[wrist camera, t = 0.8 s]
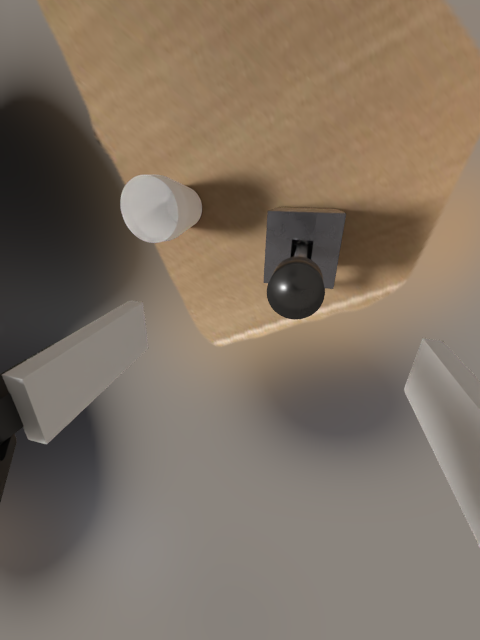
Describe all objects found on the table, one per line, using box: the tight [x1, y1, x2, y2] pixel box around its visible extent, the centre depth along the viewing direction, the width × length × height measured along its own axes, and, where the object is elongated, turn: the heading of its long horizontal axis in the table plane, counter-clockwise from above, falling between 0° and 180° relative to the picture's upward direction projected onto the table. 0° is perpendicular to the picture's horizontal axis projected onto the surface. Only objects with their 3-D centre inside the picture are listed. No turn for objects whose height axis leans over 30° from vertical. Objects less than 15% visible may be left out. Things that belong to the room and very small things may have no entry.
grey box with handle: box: [264, 207, 346, 289], centre depth 40 cm, size 12×9×13 cm
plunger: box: [267, 240, 325, 319], centre depth 28 cm, size 6×6×20 cm
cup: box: [120, 175, 202, 243], centre depth 42 cm, size 9×9×12 cm
